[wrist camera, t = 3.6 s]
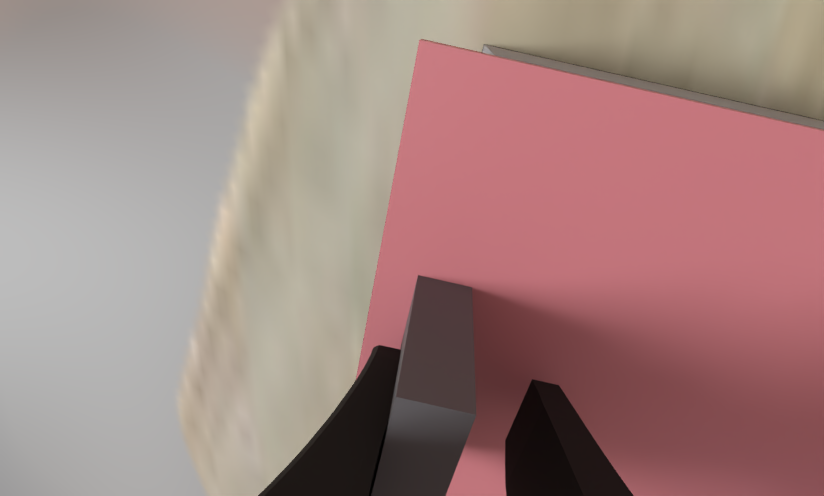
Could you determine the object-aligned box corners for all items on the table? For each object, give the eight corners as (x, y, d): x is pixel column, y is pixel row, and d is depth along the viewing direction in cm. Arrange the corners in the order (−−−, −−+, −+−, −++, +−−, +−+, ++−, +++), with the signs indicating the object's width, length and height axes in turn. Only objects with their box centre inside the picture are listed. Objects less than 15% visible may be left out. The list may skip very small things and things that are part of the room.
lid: (1407, 261, 8) (2184, 457, 4) (873, 627, 14) (1008, 826, 11) (422, 39, 8) (388, 52, 4) (333, 505, 14) (290, 663, 11)
